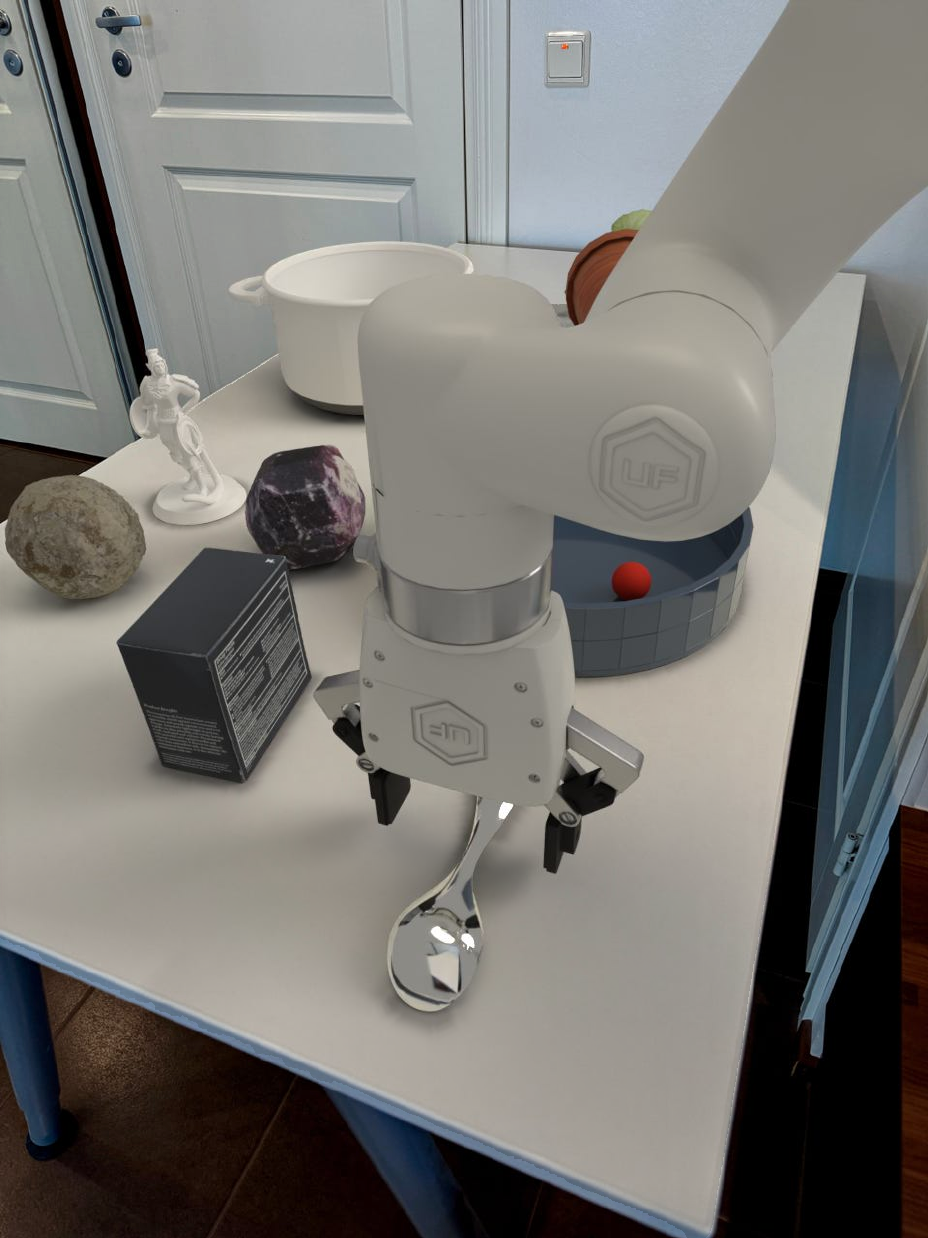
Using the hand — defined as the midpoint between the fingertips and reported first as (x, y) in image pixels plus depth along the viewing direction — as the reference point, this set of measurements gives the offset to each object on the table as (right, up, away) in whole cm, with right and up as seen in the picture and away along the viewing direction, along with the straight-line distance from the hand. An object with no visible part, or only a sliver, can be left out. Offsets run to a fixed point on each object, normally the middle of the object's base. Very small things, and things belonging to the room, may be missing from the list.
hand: (473, 828), depth 49 cm
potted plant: (+20, +49, +67) cm, 86 cm away
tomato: (+12, +15, +18) cm, 26 cm away
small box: (-16, +5, +10) cm, 20 cm away
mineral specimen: (-13, +17, +27) cm, 35 cm away
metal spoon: (0, -2, +1) cm, 2 cm away
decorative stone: (-31, +14, +24) cm, 42 cm away
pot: (-11, +39, +56) cm, 69 cm away
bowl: (+8, +16, +23) cm, 29 cm away
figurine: (-26, +23, +35) cm, 49 cm away
